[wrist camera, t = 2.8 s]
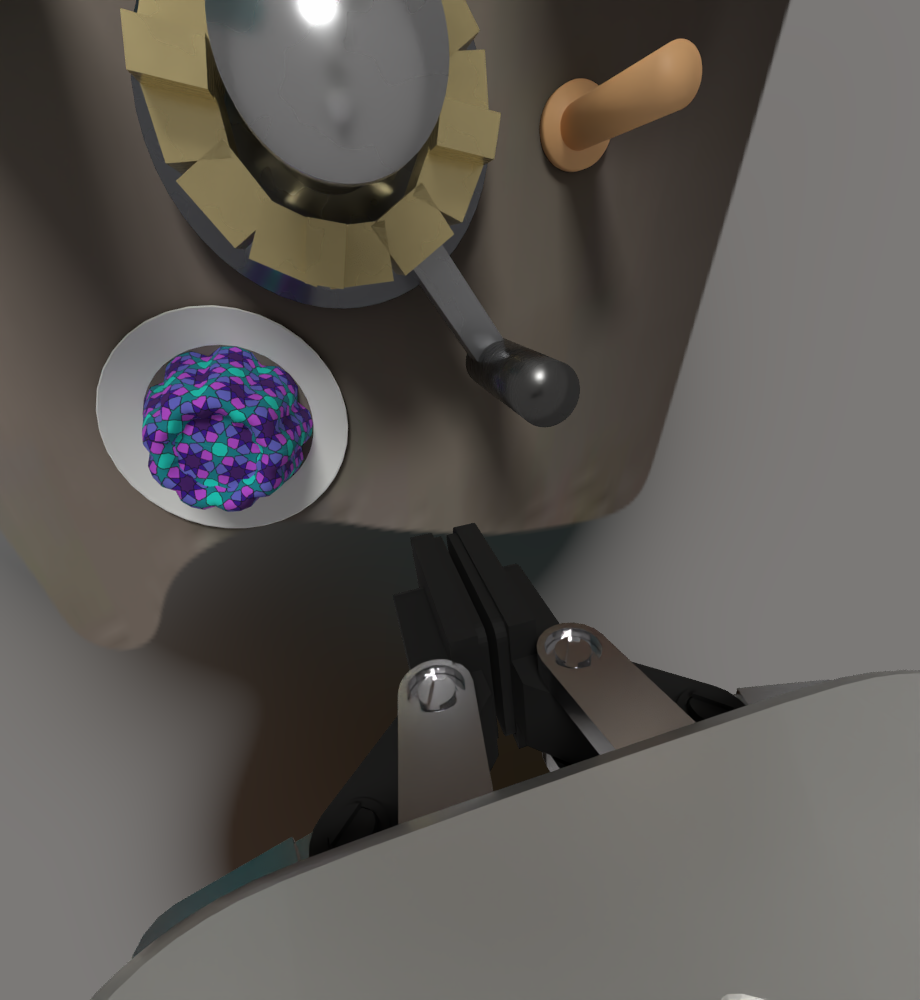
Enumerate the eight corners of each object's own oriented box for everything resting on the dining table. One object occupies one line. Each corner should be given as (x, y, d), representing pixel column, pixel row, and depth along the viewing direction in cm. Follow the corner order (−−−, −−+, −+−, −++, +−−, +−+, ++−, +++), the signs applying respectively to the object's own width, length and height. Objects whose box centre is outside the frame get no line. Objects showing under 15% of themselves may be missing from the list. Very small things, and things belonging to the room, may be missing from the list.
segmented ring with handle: (83, 65, 17) (-60, -56, 11) (336, -178, 16) (351, -471, 10) (417, 448, 27) (451, 510, 20) (589, 307, 26) (683, 324, 19)
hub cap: (260, -206, 17) (197, -760, 8) (533, 121, 24) (676, 29, 14) (82, 155, 20) (-122, 63, 11) (369, 361, 26) (399, 416, 17)
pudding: (123, 260, 22) (73, 260, 18) (376, 357, 27) (388, 377, 22) (85, 492, 26) (36, 541, 21) (312, 541, 31) (312, 591, 26)
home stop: (573, 62, 23) (685, -24, 16) (619, 125, 25) (739, 71, 18) (525, 132, 24) (612, 80, 17) (573, 189, 25) (670, 162, 18)
